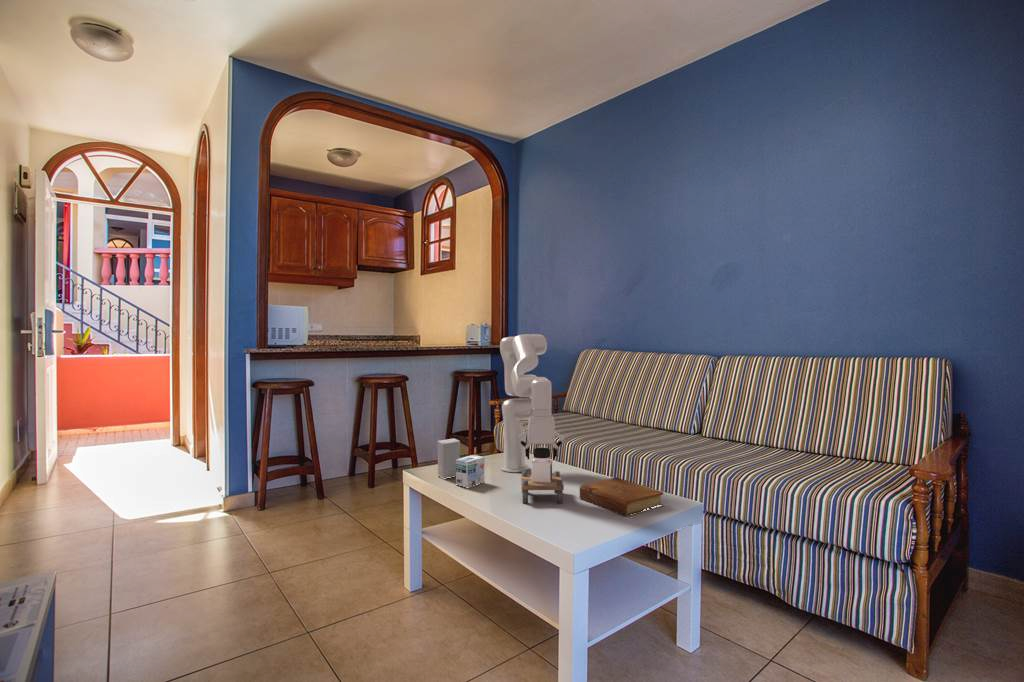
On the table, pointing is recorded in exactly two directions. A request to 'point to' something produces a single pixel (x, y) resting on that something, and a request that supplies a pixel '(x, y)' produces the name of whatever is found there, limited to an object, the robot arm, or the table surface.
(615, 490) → the diary
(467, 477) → the light bulb box
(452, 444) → the skincare box
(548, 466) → the medicine bottle
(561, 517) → the table surface
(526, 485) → the shelf stand
